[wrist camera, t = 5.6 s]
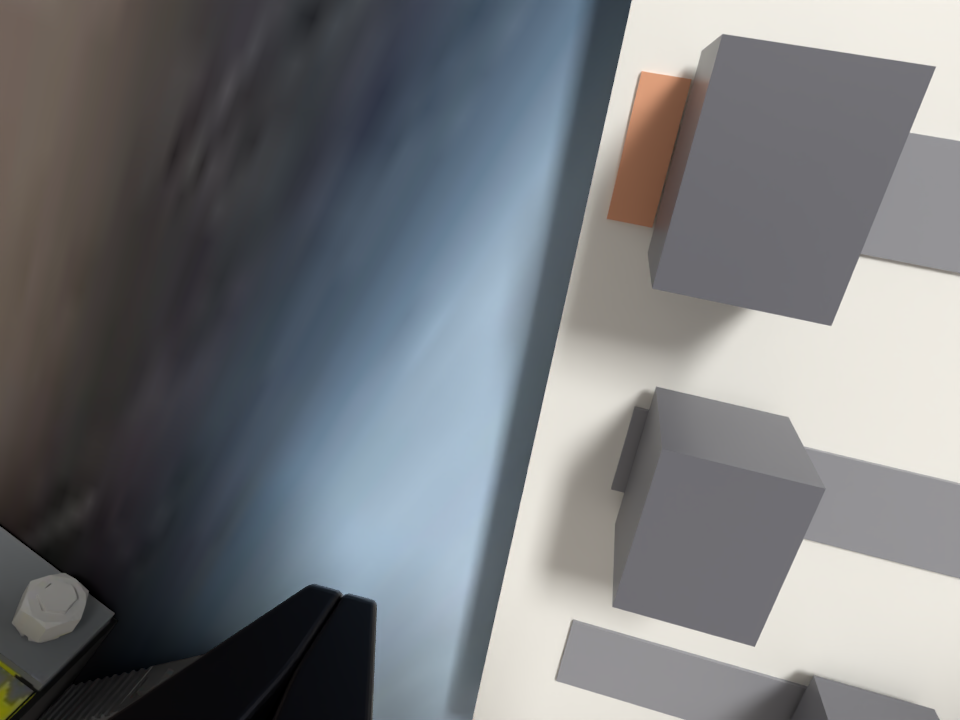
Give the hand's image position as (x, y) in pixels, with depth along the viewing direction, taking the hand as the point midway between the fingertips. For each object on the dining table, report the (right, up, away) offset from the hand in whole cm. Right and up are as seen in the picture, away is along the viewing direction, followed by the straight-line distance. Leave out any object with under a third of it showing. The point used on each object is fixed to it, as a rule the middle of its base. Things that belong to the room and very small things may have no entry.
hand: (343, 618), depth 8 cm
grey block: (+7, 0, +8) cm, 10 cm away
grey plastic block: (+7, +7, +5) cm, 11 cm away
